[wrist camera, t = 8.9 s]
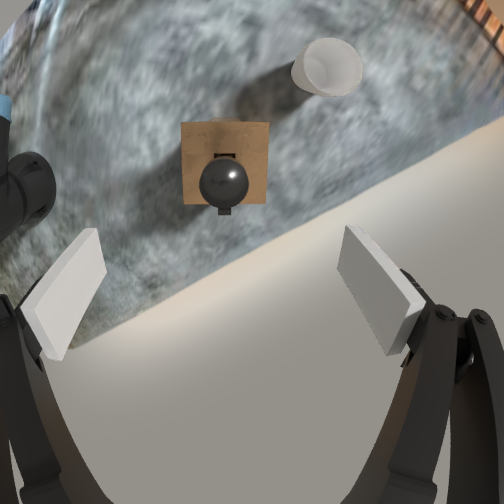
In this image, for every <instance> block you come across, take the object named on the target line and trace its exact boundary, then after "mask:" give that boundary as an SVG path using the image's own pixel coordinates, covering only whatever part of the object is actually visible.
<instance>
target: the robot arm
mask: <svg viewBox="0 0 504 504" xmlns="http://www.w3.org/2000/svg"><path fill="white" fill-rule="evenodd" d="M11 108H12V102H11V99H10V98H9V97H8V96H6V95H2V94H0V243H1V242H2V241H3V240H4V239H5V238H6V237H7V236H9V235H10V234H11V233H12V232H13V231H14V230H16V229H17V228H18V227H19V226H20V225H24V224H29V223H33V222H37V221H39V220H40V219H42V218H43V217H44V216H46V215H47V214H48V213H49V212H50V210H51V209H52V207H53V205H54V202H55V197H56V182H55V177H54V174H53V171H52V169H51V167H50V165H49V164H48V162H47V161H46V160H45V159H44V158H43V157H42V156H41V155H39V154H38V153H35V152H24V153H21V154H19V155H17V156H15V157H14V158H12V159H11V160H10V161H9V162H8V150H9V131H10V124H11V122H12V120H11ZM337 269H338V271H339V273H340V275H341V276H342V278H343V280H344V281H345V283H346V285H347V287H348V288H349V290H350V292H351V293H352V295H353V297H354V298H355V300H356V302H357V304H358V305H359V307H360V309H361V311H362V313H363V314H364V316H365V318H366V320H367V321H368V323H369V325H370V327H371V329H372V330H373V332H374V334H375V336H376V338H377V340H378V341H379V343H380V345H381V347H382V349H383V351H384V353H385V355H386V356H389V355H394V354H399V353H401V352H402V350H403V348H404V346H405V344H406V343H407V344H408V346H409V348H410V351H409V352H408V354H407V356H406V358H405V359H404V361H403V363H402V365H401V367H403V366H404V367H403V370H402V374H401V377H400V380H399V383H398V386H397V389H396V392H395V395H394V398H393V401H392V403H391V406H390V409H389V411H388V414H387V416H386V419H385V421H384V424H383V426H382V429H381V431H380V433H379V436H378V438H377V441H376V443H375V445H374V447H373V449H372V451H371V454H370V456H369V458H368V460H367V462H366V464H365V466H364V468H363V470H362V472H361V473H360V475H359V477H358V479H357V481H356V483H355V485H354V486H353V488H352V490H351V491H350V493H349V494H348V495H347V496H346V497H345V499H344V500H343V501H342V502H341V504H433V503H434V501H435V498H436V494H437V485H436V484H435V483H433V482H432V478H433V474H434V471H435V467H436V464H437V461H438V457H439V454H440V449H441V446H442V442H443V438H444V434H445V430H446V425H447V420H448V415H449V409H450V430H451V431H450V432H451V451H450V475H449V487H448V496H447V504H504V350H503V347H502V345H501V342H500V339H499V336H498V333H497V331H496V328H495V325H494V323H493V320H492V319H491V317H490V316H489V315H488V314H487V313H486V312H484V311H483V310H479V309H473V310H471V312H470V314H469V316H468V318H461V317H457V316H456V314H455V312H454V311H453V310H451V309H450V308H448V307H446V306H444V305H440V304H439V305H435V303H434V302H433V301H432V300H431V299H430V298H429V296H428V295H427V294H426V293H425V292H424V290H423V289H422V288H420V286H419V285H418V283H416V281H415V280H414V279H413V277H412V276H411V275H410V274H408V273H407V272H405V271H404V270H402V269H398V268H397V266H396V265H395V264H394V263H393V262H392V261H391V260H390V259H389V257H388V256H387V255H386V254H385V253H384V252H383V251H382V250H381V249H380V248H379V246H378V245H377V244H376V243H375V242H374V241H373V240H372V239H371V238H370V237H369V236H368V235H367V234H366V233H365V232H364V230H363V229H362V228H361V227H360V226H359V225H346V227H345V232H344V238H343V243H342V248H341V253H340V258H339V262H338V267H337ZM106 273H107V271H106V267H105V263H104V259H103V255H102V251H101V246H100V242H99V237H98V232H97V228H85V229H84V230H83V231H82V232H81V233H80V234H79V235H78V236H77V237H76V239H75V240H74V241H73V242H72V243H71V244H70V245H69V246H68V248H67V249H66V250H65V251H64V252H63V253H62V254H61V256H60V257H59V258H58V259H57V260H56V262H55V263H54V264H53V265H52V266H51V268H50V269H49V270H48V271H47V272H46V274H45V275H43V276H42V277H40V278H39V279H38V280H36V282H35V283H34V284H33V285H32V287H31V289H29V291H28V292H27V295H25V296H24V297H23V299H22V300H21V301H20V303H19V304H18V305H17V307H16V308H15V310H14V309H13V307H12V305H11V303H10V301H9V299H8V296H7V295H5V294H0V504H19V501H18V497H17V492H16V487H15V482H14V477H13V470H12V464H11V456H10V447H9V440H10V443H11V446H12V450H13V453H14V456H15V459H16V462H17V465H18V468H19V470H20V472H21V476H22V478H23V481H24V487H22V488H21V489H20V497H21V501H22V503H23V504H114V503H113V502H111V501H110V500H109V499H108V498H107V497H106V496H105V494H104V493H103V491H102V490H101V488H100V487H99V485H98V484H97V482H96V480H95V479H94V477H93V476H92V474H91V472H90V470H89V469H88V467H87V466H86V463H85V462H84V460H83V458H82V456H81V454H80V453H79V450H78V448H77V447H76V445H75V443H74V441H73V439H72V436H71V434H70V432H69V430H68V428H67V426H66V423H65V421H64V419H63V417H62V414H61V412H60V410H59V407H58V404H57V402H56V399H55V397H54V394H53V391H52V389H51V386H50V383H49V380H48V377H47V374H46V371H45V368H44V365H43V361H42V359H41V358H40V356H39V354H40V352H41V350H42V349H43V351H44V353H45V354H46V356H47V358H48V359H52V360H58V361H62V359H63V357H64V355H65V353H66V350H67V348H68V346H69V344H70V342H71V340H72V337H73V335H74V333H75V331H76V329H77V327H78V325H79V323H80V321H81V319H82V317H83V315H84V313H85V311H86V309H87V307H88V305H89V304H90V302H91V300H92V298H93V296H94V294H95V292H96V291H97V289H98V287H99V285H100V283H101V282H102V280H103V278H104V276H105V275H106ZM473 357H474V360H473V363H472V358H473Z"/></svg>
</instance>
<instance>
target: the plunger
mask: <svg viewBox="0 0 504 504" xmlns="http://www.w3.org/2000/svg"><path fill="white" fill-rule="evenodd" d="M199 189H200V192H201V195H202V197H203V198H204V200H205V201H206V202H208V203H209V204H210V205H212V206H214V207H217V208H230V207H233V206H235V205H237V204H239V203H240V202H241V201H242V200H243V199H244V198H245V196H246V195H247V192H248V189H249V180H248V176H247V173H246V170H245V168H244V166H243V165H242V164H241V163H240V162H239V161H238V160H236V159H235V153H214V159H212V160H211V161H210V162H208V163H207V164H206V166H205V167H204V169H203V171H202V174H201V177H200V181H199Z"/></svg>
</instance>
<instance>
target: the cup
mask: <svg viewBox="0 0 504 504" xmlns="http://www.w3.org/2000/svg"><path fill="white" fill-rule="evenodd" d="M291 76H292V79H293V81H294V83H295V84H296V85H297V86H298V87H299V88H301V89H302V90H305V91H308V92H311V93H314V94H316V95H319V96H323V97H337V96H341V95H346V94H349V93H351V92H352V91H354V90H355V89H356V88H357V87H358V86H359V84H360V83H361V80H362V77H363V65H362V61H361V59H360V57H359V55H358V53H357V52H356V51H355V49H354V48H353V47H352V46H350V45H349V44H348V43H346V42H344V41H342V40H340V39H336V38H321V39H318V40H316V41H314V42H311V43H309V44H308V45H306V46H305V47H304V48H303V49H302V50H301V51H300V53H299V55H298V56H297V58H296V60H295V62H294V64H293V66H292V69H291Z"/></svg>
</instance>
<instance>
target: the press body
mask: <svg viewBox="0 0 504 504" xmlns="http://www.w3.org/2000/svg"><path fill="white" fill-rule="evenodd" d="M269 124H270V123H269V122H252V121H242V120H240V119H239V118H212V119H211V120H209V121H205V122H182V123H181V153H182V181H183V201H184V205H188V204H209V203H208V202H206V201H205V200H204V198H203V197H202V195H201V192H200V189H199V181H200V177H201V174H202V171H203V169H204V167H205V166H206V164H207V163H208V162H210V161H211V160H212V159H214V153H235V159H236V160H238V161H239V162H240V163H241V164H242V165H243V166H244V168H245V170H246V173H247V176H248V180H249V189H248V192H247V195H246V196H245V198H244V199H243V200H242V201H241V202H240V203H239V204H266V185H267V166H268V145H269ZM218 215H231V207H230V208H218Z"/></svg>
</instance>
